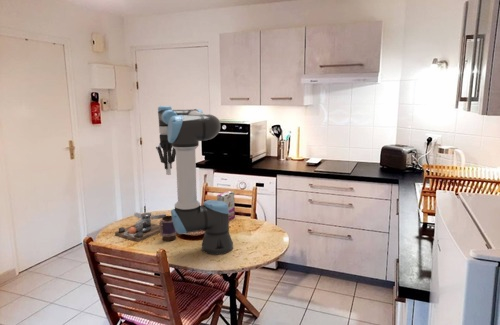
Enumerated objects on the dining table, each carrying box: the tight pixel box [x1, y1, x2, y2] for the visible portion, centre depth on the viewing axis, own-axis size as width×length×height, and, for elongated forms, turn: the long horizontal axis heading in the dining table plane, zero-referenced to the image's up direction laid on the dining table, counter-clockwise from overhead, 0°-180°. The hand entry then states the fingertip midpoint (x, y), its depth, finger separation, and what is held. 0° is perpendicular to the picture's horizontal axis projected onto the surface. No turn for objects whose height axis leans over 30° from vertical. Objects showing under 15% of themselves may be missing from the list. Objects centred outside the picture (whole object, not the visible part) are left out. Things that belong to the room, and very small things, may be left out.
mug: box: [158, 215, 177, 242], centre depth 181 cm, size 10×7×12 cm
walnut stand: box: [114, 222, 160, 243], centre depth 192 cm, size 18×20×4 cm
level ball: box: [129, 227, 137, 234], centre depth 185 cm, size 4×4×4 cm
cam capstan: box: [133, 212, 167, 233], centre depth 194 cm, size 19×16×8 cm
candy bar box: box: [216, 190, 236, 221], centre depth 210 cm, size 11×5×16 cm, turn 147°
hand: (168, 174), depth 203 cm, fingers closed
